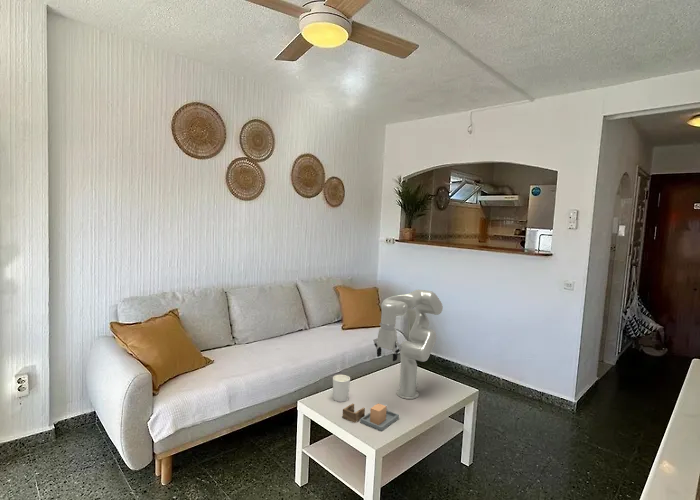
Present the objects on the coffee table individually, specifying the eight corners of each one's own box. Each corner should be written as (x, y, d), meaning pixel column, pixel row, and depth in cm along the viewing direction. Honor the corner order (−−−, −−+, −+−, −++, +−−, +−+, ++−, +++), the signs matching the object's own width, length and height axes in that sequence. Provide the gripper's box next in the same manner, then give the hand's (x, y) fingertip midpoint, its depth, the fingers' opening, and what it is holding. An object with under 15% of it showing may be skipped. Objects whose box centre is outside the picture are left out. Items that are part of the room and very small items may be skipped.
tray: (378, 410, 208) (378, 406, 208) (398, 418, 200) (399, 414, 200) (360, 422, 194) (360, 418, 194) (381, 431, 187) (381, 427, 187)
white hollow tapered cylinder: (335, 403, 214) (336, 382, 213) (329, 396, 223) (330, 375, 222) (352, 401, 218) (353, 380, 217) (345, 393, 227) (346, 373, 226)
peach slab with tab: (381, 413, 204) (382, 400, 203) (390, 416, 201) (390, 403, 200) (370, 421, 195) (370, 408, 194) (378, 425, 192) (379, 411, 191)
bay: (352, 411, 205) (352, 403, 205) (364, 416, 201) (364, 408, 200) (342, 417, 199) (342, 409, 198) (354, 422, 194) (355, 414, 194)
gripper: (370, 324, 207) (369, 356, 209) (398, 331, 197) (397, 364, 198) (378, 322, 213) (377, 352, 215) (406, 328, 203) (404, 360, 204)
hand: (386, 358), depth 206 cm, fingers open, 9 cm apart
